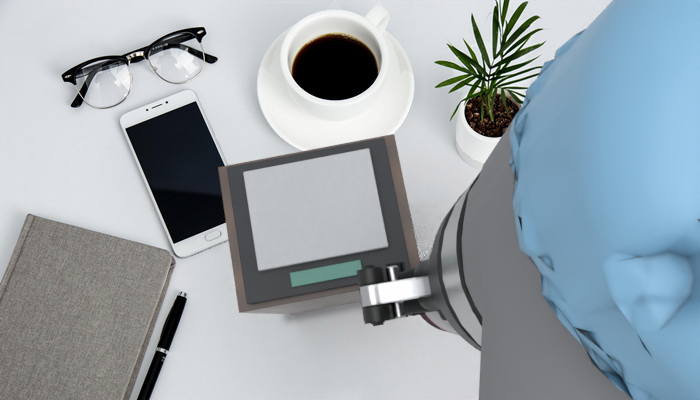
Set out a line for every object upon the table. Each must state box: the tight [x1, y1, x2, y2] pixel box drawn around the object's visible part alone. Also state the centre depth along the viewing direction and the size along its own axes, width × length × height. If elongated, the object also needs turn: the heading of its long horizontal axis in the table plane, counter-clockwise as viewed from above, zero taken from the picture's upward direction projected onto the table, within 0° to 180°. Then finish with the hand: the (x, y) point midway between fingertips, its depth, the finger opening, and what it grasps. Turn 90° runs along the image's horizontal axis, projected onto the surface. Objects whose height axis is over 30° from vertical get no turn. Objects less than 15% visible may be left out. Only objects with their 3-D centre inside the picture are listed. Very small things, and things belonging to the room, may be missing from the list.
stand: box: [217, 133, 421, 315], centre depth 69 cm, size 13×16×32 cm
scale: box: [227, 138, 411, 305], centre depth 52 cm, size 12×14×2 cm
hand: (459, 287), depth 44 cm, fingers closed on beverage can, 6 cm apart
